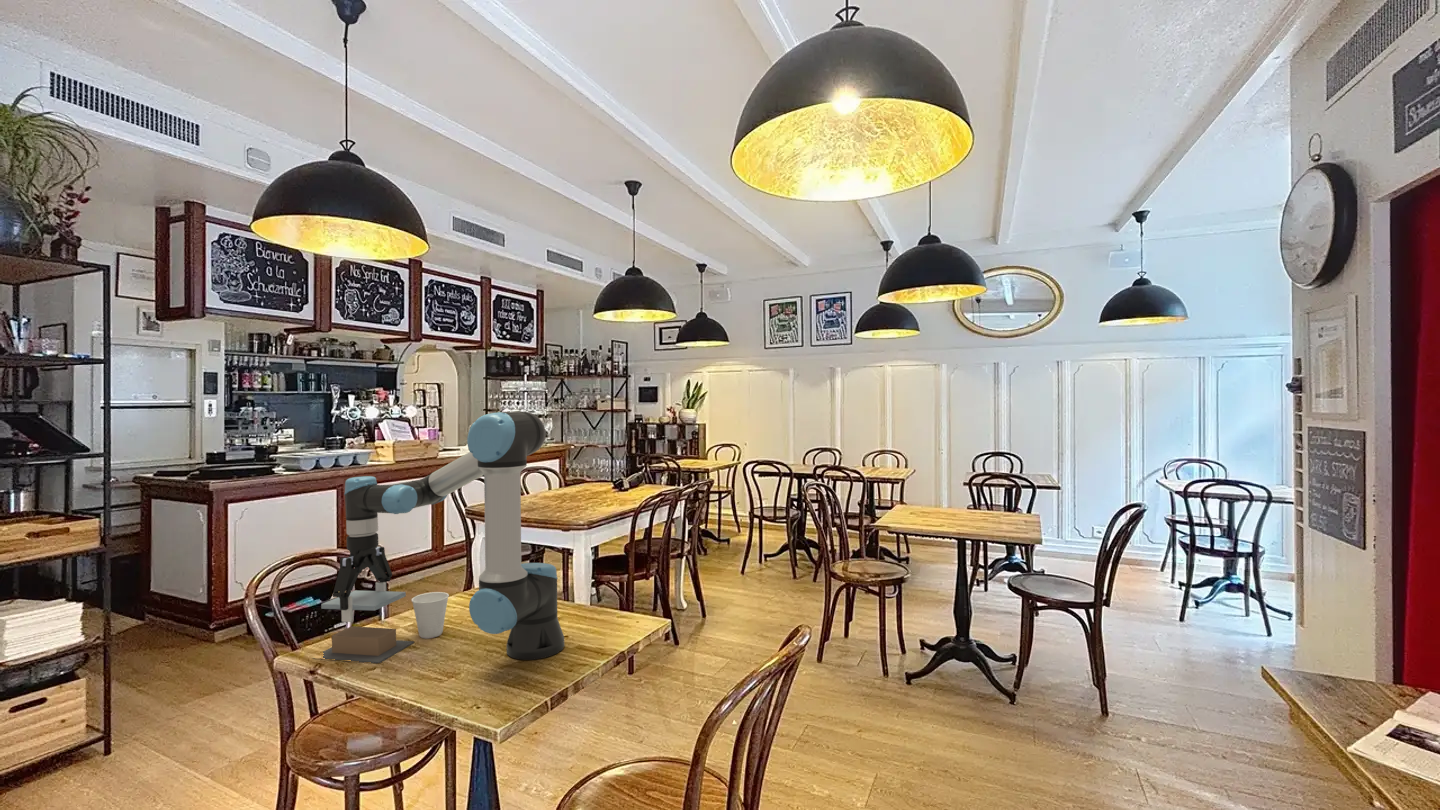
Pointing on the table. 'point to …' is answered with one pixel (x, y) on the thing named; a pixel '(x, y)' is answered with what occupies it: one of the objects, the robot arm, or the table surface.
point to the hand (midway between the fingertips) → (365, 613)
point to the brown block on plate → (365, 644)
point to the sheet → (367, 600)
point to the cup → (430, 613)
